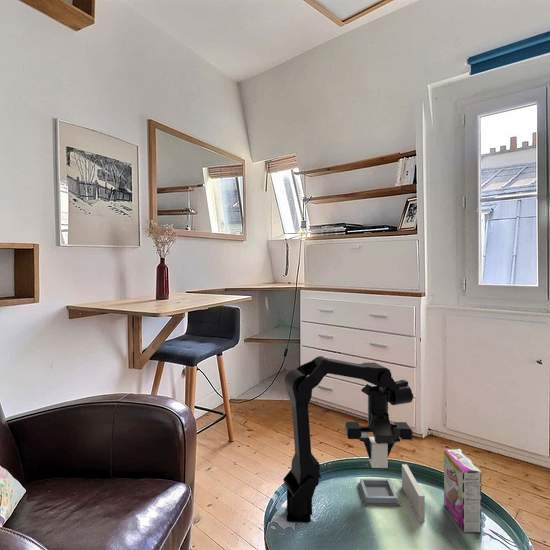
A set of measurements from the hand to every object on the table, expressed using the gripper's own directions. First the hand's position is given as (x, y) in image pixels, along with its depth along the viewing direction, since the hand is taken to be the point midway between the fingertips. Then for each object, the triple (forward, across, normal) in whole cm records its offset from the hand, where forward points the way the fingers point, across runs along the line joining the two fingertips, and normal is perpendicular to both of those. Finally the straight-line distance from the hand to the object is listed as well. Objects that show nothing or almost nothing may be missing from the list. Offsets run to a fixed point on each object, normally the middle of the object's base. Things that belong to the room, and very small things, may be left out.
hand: (377, 458), depth 109 cm
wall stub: (+11, +9, -3) cm, 15 cm away
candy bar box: (+11, +20, -9) cm, 25 cm away
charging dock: (+11, 0, 0) cm, 11 cm away
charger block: (+2, 0, 0) cm, 2 cm away
